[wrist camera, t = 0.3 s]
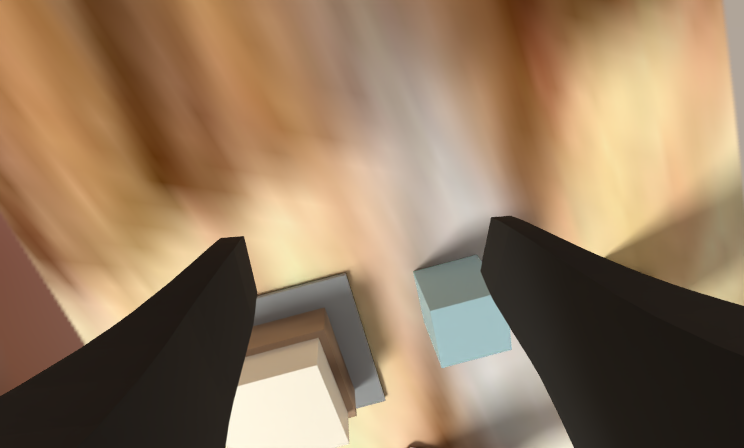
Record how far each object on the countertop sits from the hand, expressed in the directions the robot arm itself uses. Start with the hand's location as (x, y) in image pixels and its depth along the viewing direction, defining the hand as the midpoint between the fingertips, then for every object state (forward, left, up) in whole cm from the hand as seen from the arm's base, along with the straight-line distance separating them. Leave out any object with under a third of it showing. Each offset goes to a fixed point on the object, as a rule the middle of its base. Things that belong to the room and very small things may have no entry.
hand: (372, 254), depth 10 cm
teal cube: (-5, -10, -11) cm, 15 cm away
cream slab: (-15, -2, -8) cm, 17 cm away
